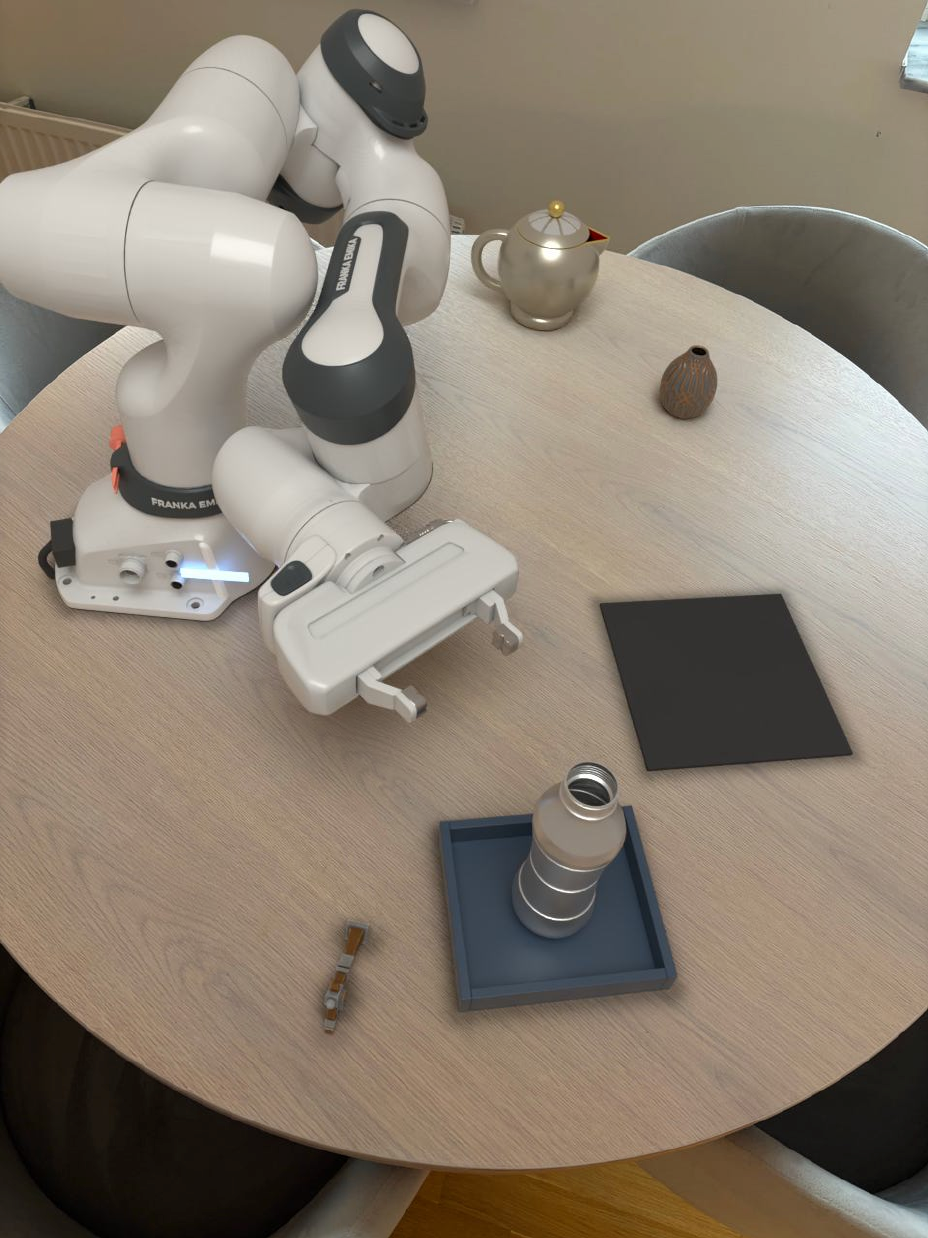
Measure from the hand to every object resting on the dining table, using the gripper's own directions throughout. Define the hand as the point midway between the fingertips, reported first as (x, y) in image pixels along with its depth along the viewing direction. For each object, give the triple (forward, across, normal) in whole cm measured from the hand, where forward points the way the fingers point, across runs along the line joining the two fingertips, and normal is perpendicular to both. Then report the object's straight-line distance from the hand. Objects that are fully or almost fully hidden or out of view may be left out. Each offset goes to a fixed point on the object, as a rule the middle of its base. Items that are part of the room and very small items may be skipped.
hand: (469, 679), depth 69 cm
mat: (+6, -30, -19) cm, 36 cm away
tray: (+12, 0, -19) cm, 22 cm away
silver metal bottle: (+12, 0, -19) cm, 22 cm away
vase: (-24, -60, -19) cm, 68 cm away
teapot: (-51, -60, -19) cm, 81 cm away
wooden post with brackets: (+6, +16, -19) cm, 26 cm away
